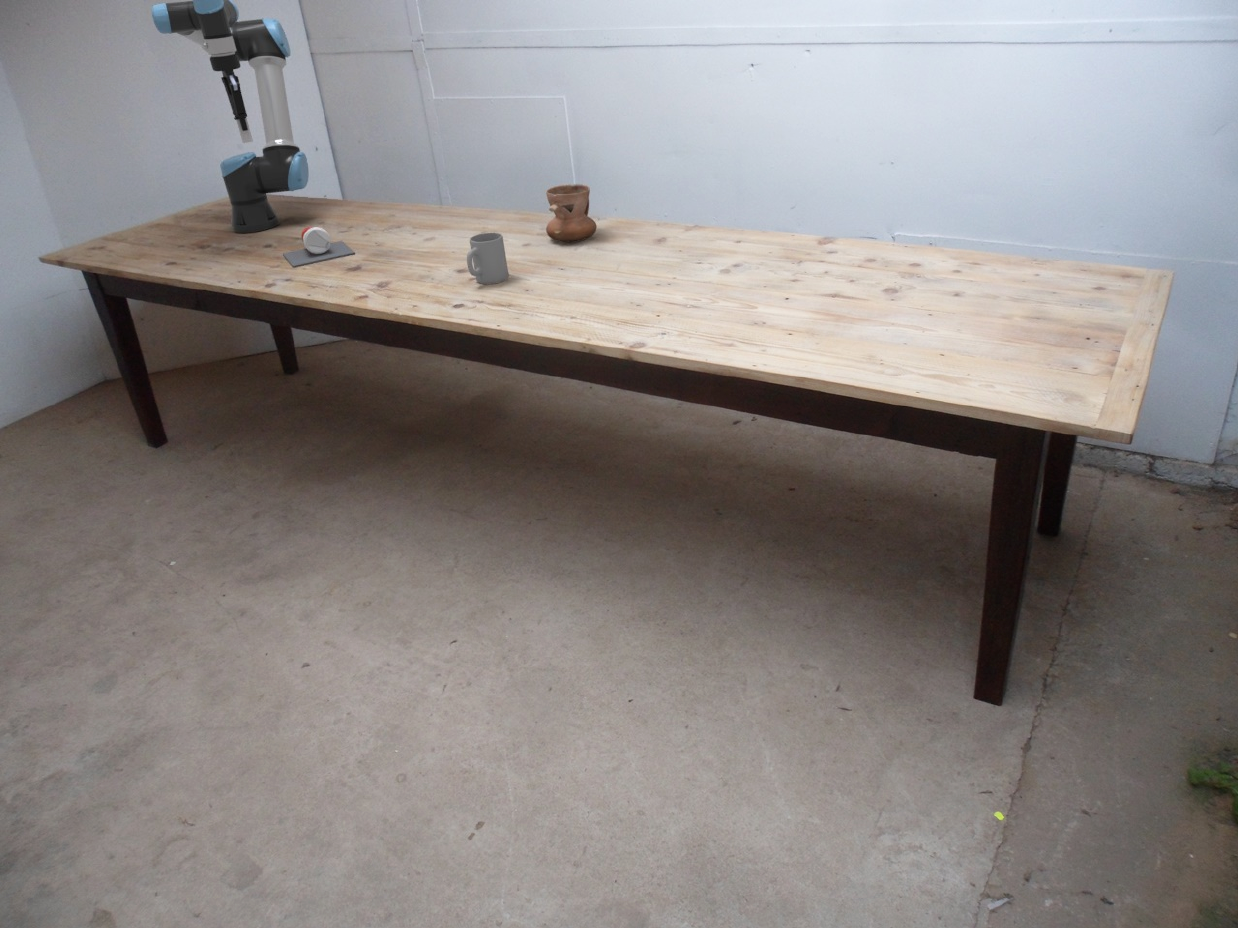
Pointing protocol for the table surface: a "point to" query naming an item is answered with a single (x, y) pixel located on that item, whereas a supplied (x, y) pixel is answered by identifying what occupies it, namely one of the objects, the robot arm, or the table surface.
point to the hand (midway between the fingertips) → (247, 141)
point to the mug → (487, 258)
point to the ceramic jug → (570, 213)
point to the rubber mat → (308, 257)
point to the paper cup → (316, 239)
